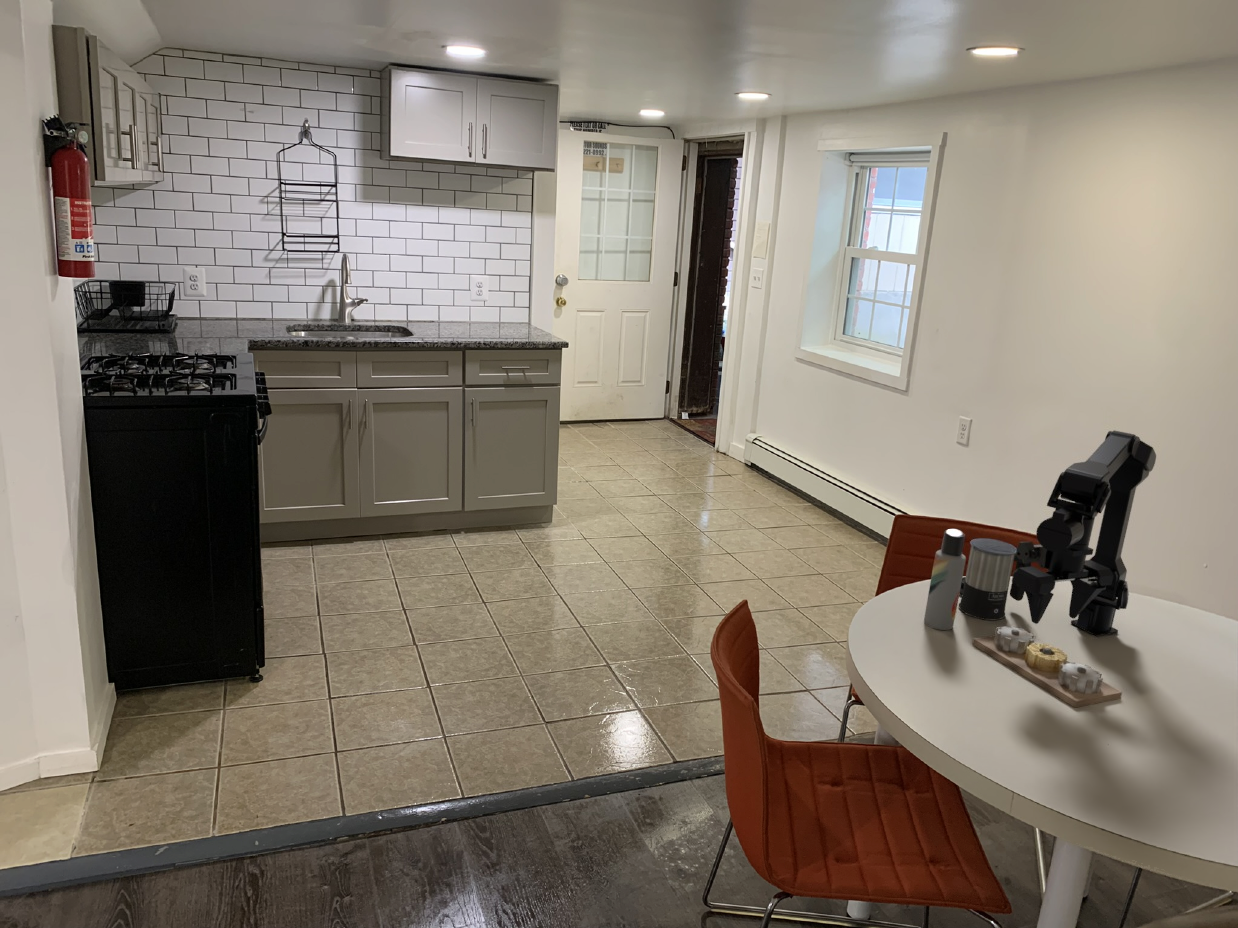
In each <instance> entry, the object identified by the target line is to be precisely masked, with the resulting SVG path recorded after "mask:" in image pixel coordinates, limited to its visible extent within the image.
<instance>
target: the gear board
mask: <svg viewBox="0 0 1238 928" xmlns="http://www.w3.org/2000/svg"><path fill="white" fill-rule="evenodd" d="M1034 637H1035V636H1034V634H1033V633H1030V632H1028V631H1026V629H1024V628H1021V627H1016V626H1011V625H1004V626H997V627H996V629H995V633H994V634H993V635H989V636H982V637H975V638H973V640H972V645H973V646H975V647H976V648H978V649H979V650H981V651H983V652H984V653H986V654H988V655H990V656H991V657H993V658H994V659H996V660H997V661H999V662H1001V663H1002V664H1004V665H1005V666H1007V667H1009V668H1010V669H1012V670H1014V671H1015V672H1016V673H1018V674H1020V675H1021V676H1023V677H1025V678H1026V679H1028V680H1030V681H1031V682H1033V683H1035V684H1036V685H1037V686H1039V687H1041V688H1043V689H1044V690H1046V691H1047V692H1049V693H1050V694H1052V695H1054V696H1055V697H1058V698H1059V699H1061V701H1064V702H1065V703H1067V704H1068V705H1070V706H1072V707H1073V708H1075V707H1076V708H1080V707H1085V705H1086V706H1090V704H1091V705H1096V704H1099V703H1100V702H1101V703H1104V702H1105V701H1106V702H1109V701H1110V702H1111V701H1114V700H1120V699H1121V698H1122V694H1123V692H1122V691H1120V690H1118V689H1117V688H1115V687H1113V686H1112V685H1110V684H1108V683H1106V682H1105V681H1103V680H1104V679H1103V677H1102V673H1101V672H1100V671H1097V670H1095V669H1094V668H1092V666H1089V665H1087V664H1080V663H1077V662H1073V661H1068V660H1067V662H1066V664H1063V663H1062V664H1061V665H1060V669H1059V673H1056V672H1054V673H1052V672H1043V671H1042V670H1038V669H1036V668H1035V667H1034V668H1032V667H1031V666H1029V664H1028V663H1027V661H1024V658H1025V653H1026V648H1027V646H1028V647H1029V645H1030V644H1032V643H1035V644H1037V642H1034V641H1035V639H1034ZM1051 651H1052V650H1051V649H1049V648H1043V652H1042V653H1043V654H1047V655H1051Z"/></svg>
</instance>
